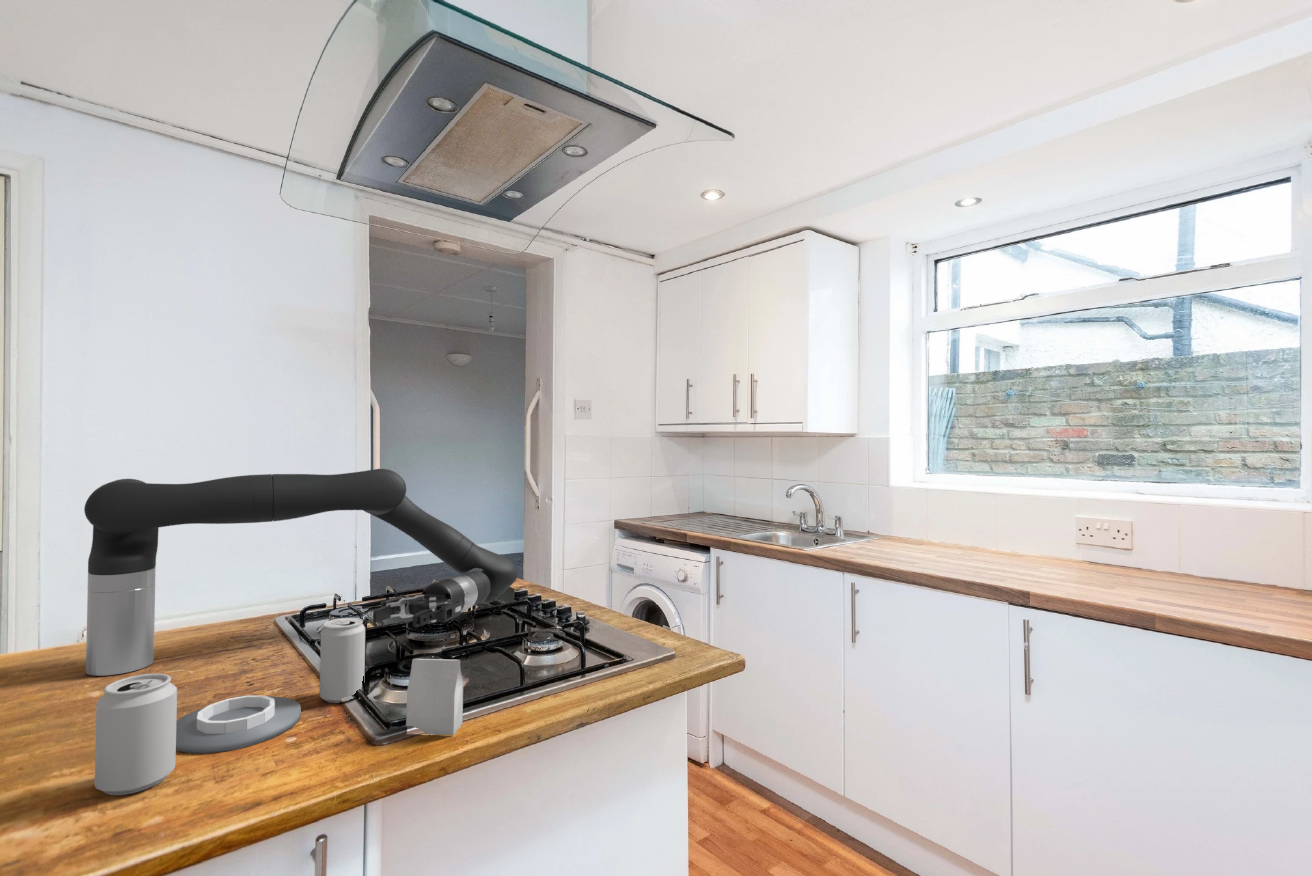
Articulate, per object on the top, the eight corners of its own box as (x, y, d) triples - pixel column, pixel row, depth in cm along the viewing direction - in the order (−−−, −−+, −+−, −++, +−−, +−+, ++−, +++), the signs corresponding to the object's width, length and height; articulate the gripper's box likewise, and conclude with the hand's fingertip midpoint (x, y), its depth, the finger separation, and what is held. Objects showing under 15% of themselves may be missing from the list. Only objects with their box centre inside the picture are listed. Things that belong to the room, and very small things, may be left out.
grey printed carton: (453, 736, 89) (455, 664, 89) (405, 734, 89) (407, 663, 89) (462, 724, 93) (463, 656, 93) (416, 723, 93) (417, 654, 93)
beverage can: (346, 706, 98) (347, 628, 98) (309, 702, 99) (311, 625, 99) (372, 691, 104) (374, 617, 104) (338, 687, 105) (339, 615, 105)
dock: (172, 716, 93) (173, 699, 93) (297, 695, 102) (298, 679, 102) (158, 764, 80) (159, 744, 80) (304, 735, 88) (304, 717, 88)
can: (126, 766, 79) (128, 670, 79) (189, 764, 80) (191, 669, 80) (76, 800, 72) (79, 694, 72) (146, 798, 72) (149, 693, 73)
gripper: (420, 575, 130) (361, 594, 115) (481, 581, 126) (428, 601, 110) (420, 612, 130) (361, 636, 115) (480, 618, 126) (428, 644, 110)
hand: (394, 619), depth 113 cm, fingers open, 8 cm apart
